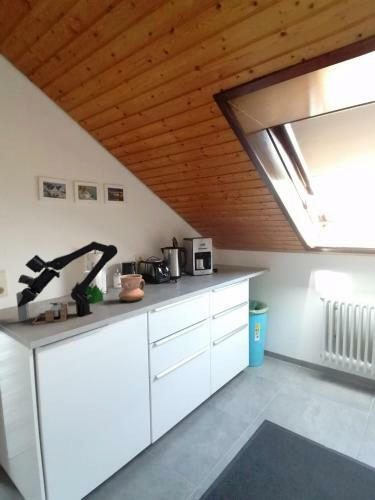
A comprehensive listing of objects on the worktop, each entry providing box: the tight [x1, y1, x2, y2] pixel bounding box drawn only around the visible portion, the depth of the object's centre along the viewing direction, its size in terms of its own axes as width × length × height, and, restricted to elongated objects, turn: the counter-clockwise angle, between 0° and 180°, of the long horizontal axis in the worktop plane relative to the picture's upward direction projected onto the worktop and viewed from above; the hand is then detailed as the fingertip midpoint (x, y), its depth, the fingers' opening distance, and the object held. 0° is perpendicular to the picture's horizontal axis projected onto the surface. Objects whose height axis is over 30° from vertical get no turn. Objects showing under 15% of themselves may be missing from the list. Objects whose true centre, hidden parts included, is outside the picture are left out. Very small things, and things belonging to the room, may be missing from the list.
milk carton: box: [82, 266, 104, 304], centre depth 166 cm, size 9×9×20 cm
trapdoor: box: [34, 303, 62, 317], centre depth 136 cm, size 12×10×3 cm
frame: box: [32, 301, 70, 326], centre depth 137 cm, size 16×14×6 cm
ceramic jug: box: [117, 273, 146, 302], centre depth 166 cm, size 18×14×14 cm
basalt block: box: [16, 291, 31, 321], centre depth 133 cm, size 4×5×12 cm
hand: (19, 305), depth 132 cm, fingers closed on basalt block, 5 cm apart
